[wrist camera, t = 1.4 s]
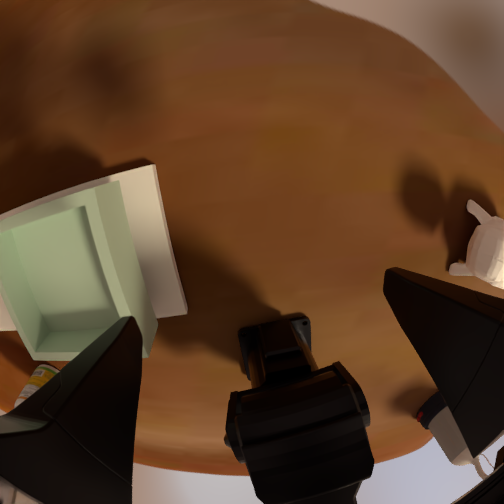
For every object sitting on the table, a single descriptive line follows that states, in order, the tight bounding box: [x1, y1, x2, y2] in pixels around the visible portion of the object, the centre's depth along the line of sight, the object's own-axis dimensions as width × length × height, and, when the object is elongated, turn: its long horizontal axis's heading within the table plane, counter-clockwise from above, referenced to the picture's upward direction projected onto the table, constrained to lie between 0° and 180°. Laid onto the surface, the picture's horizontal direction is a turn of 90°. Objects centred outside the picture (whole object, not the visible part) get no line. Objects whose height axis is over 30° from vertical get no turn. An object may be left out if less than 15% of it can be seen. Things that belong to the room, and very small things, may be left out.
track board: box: [0, 164, 188, 331], centre depth 18 cm, size 12×28×4 cm, turn 98°
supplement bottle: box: [15, 364, 60, 407], centre depth 20 cm, size 5×5×10 cm
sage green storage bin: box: [0, 180, 158, 361], centre depth 17 cm, size 11×11×6 cm
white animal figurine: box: [449, 199, 504, 289], centre depth 21 cm, size 9×8×15 cm
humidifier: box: [417, 391, 494, 480], centre depth 23 cm, size 8×8×25 cm
